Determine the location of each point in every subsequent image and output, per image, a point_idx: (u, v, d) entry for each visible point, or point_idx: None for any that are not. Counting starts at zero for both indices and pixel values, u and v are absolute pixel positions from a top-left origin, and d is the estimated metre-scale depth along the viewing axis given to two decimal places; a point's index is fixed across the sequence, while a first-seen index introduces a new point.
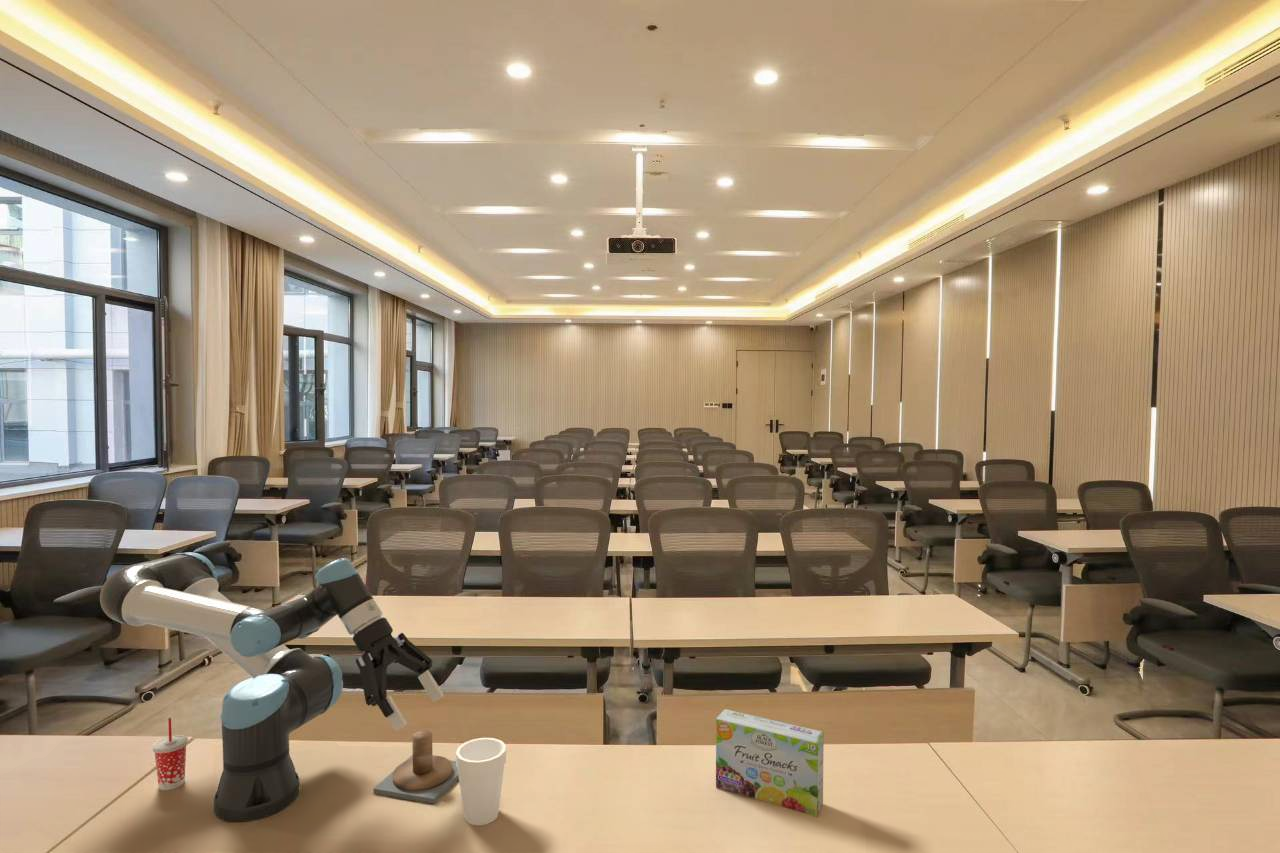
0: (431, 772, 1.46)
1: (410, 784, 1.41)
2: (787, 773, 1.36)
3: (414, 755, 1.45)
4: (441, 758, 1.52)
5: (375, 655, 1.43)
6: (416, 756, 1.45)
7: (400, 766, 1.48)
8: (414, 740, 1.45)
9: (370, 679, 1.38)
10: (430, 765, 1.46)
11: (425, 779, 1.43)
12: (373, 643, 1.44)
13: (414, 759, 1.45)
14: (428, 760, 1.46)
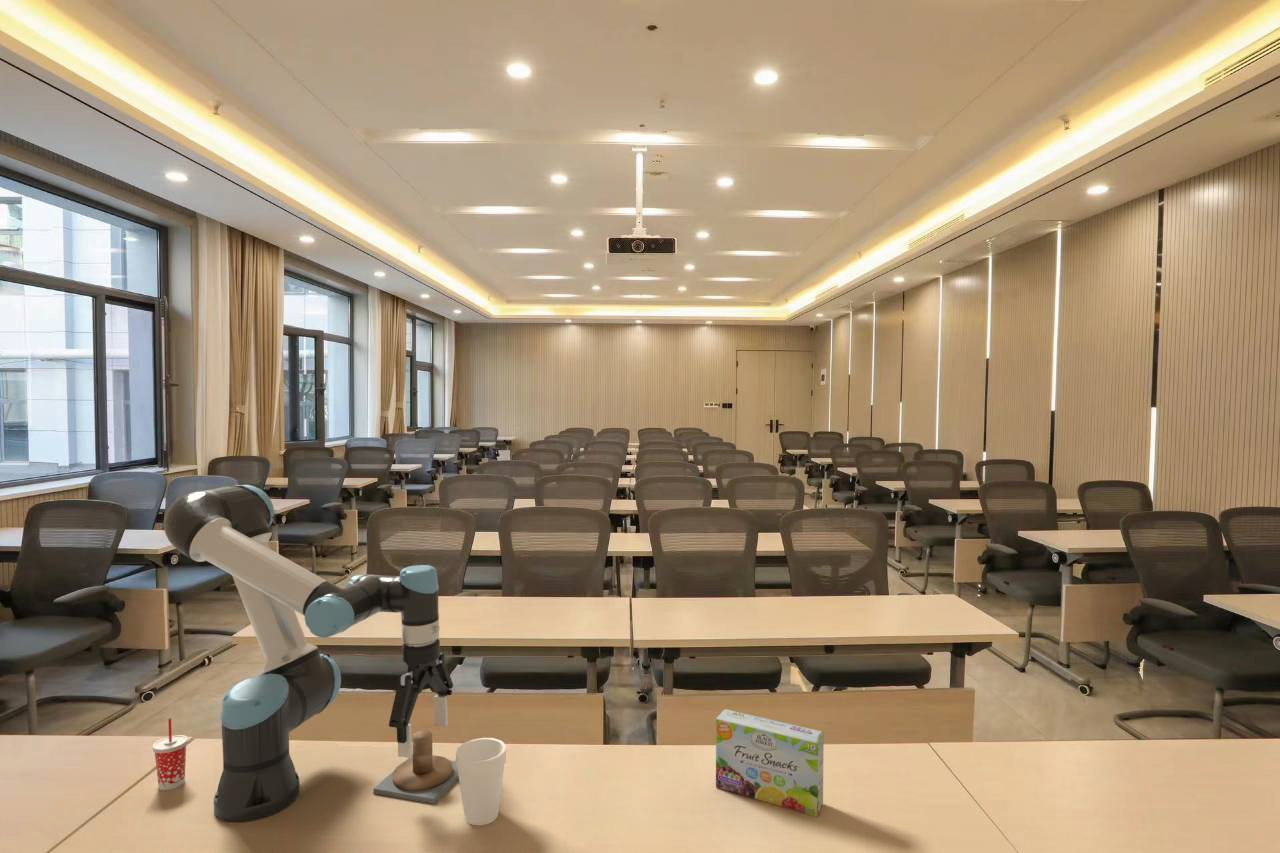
0: (431, 772, 1.46)
1: (410, 784, 1.41)
2: (787, 773, 1.36)
3: (414, 755, 1.45)
4: (441, 758, 1.52)
5: (415, 677, 1.42)
6: (416, 756, 1.45)
7: (400, 766, 1.48)
8: (414, 740, 1.45)
9: (403, 704, 1.38)
10: (430, 765, 1.46)
11: (425, 779, 1.43)
12: None
13: (414, 759, 1.45)
14: (428, 760, 1.46)
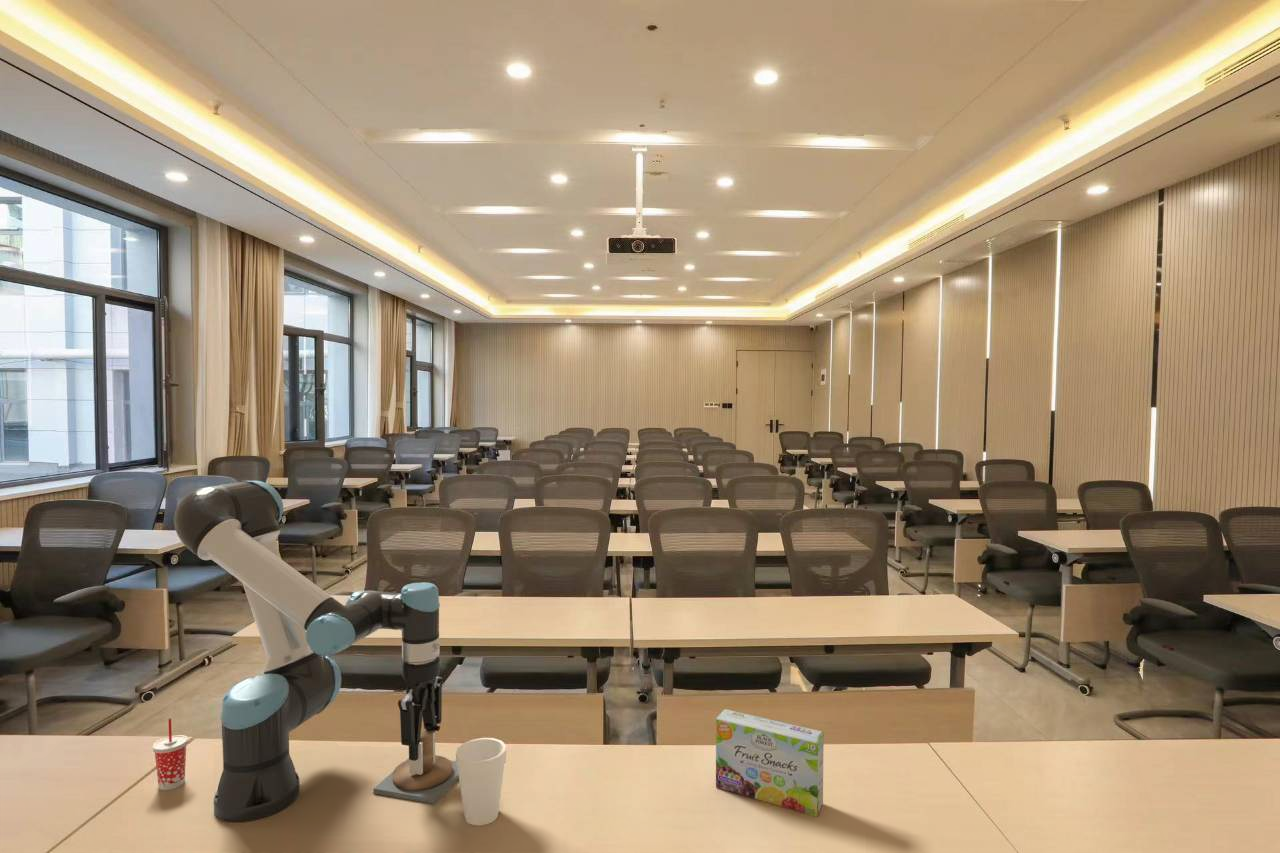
0: (431, 772, 1.46)
1: (410, 784, 1.41)
2: (787, 773, 1.36)
3: None
4: (441, 758, 1.52)
5: (415, 695, 1.42)
6: None
7: (400, 766, 1.48)
8: None
9: (410, 727, 1.41)
10: (430, 765, 1.46)
11: (425, 779, 1.43)
12: (419, 682, 1.43)
13: None
14: (428, 759, 1.46)
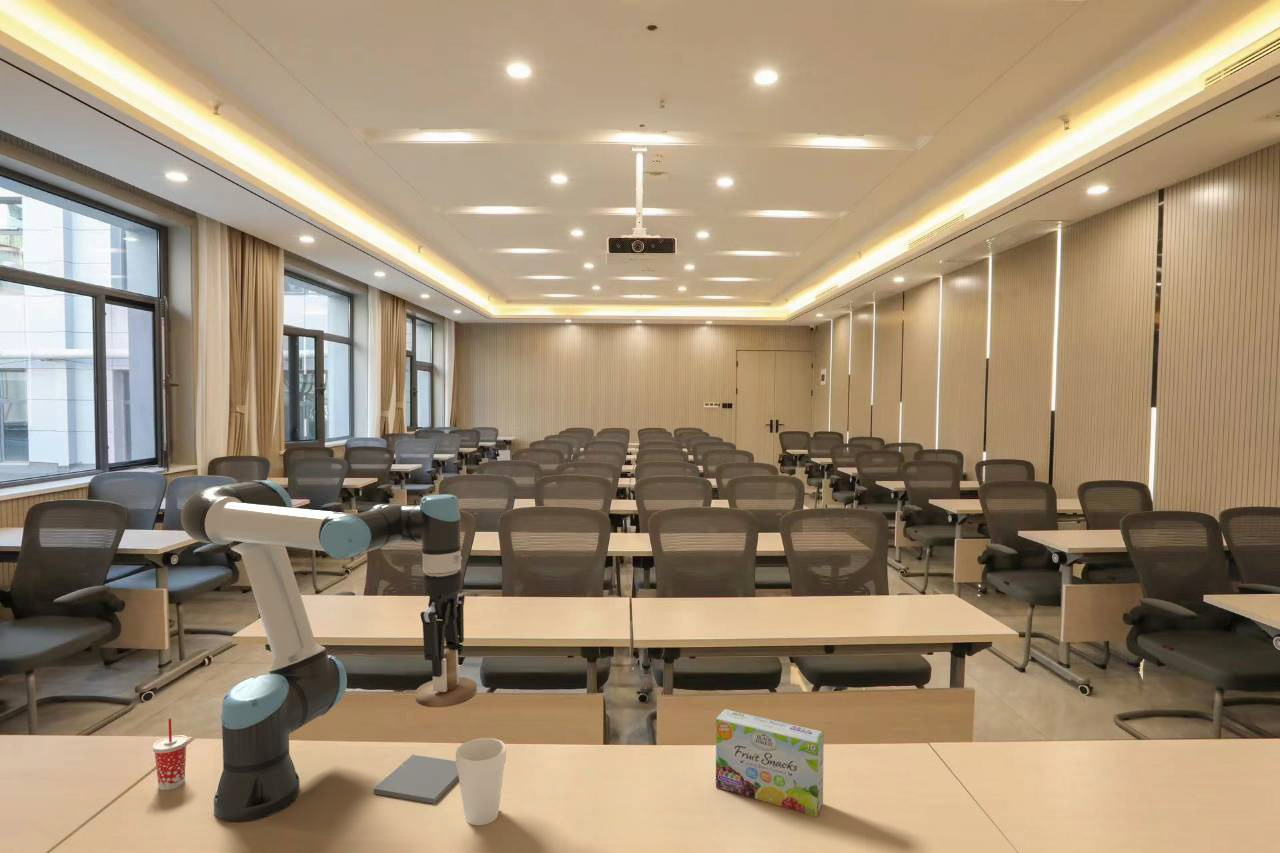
0: (455, 690, 1.40)
1: (434, 700, 1.36)
2: (787, 773, 1.36)
3: None
4: (464, 679, 1.46)
5: (438, 608, 1.37)
6: None
7: (422, 686, 1.43)
8: None
9: (433, 640, 1.35)
10: (454, 683, 1.41)
11: (450, 696, 1.38)
12: (441, 594, 1.38)
13: None
14: (452, 677, 1.40)
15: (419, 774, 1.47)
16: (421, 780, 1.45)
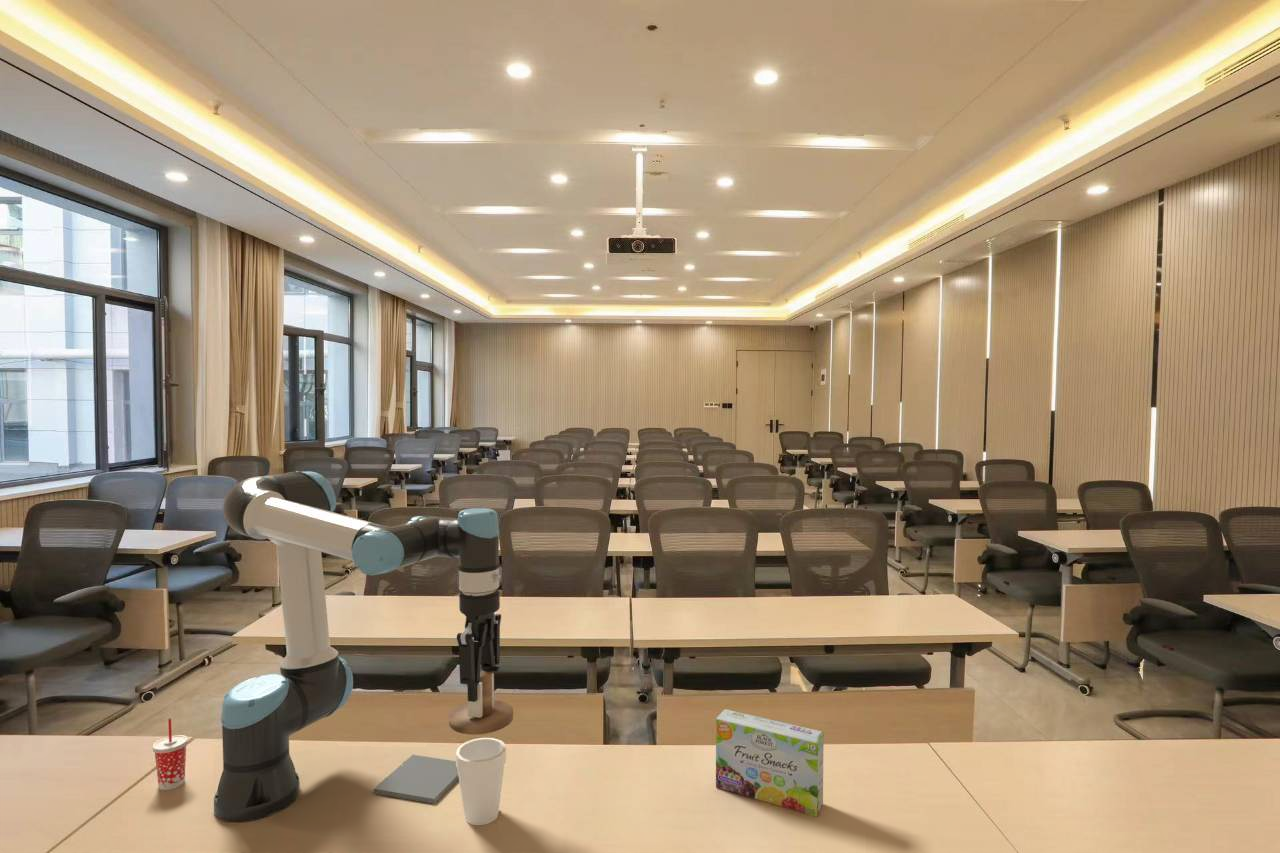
0: (491, 715, 1.33)
1: (470, 726, 1.28)
2: (787, 773, 1.36)
3: None
4: (500, 702, 1.38)
5: (475, 629, 1.29)
6: None
7: (456, 710, 1.35)
8: None
9: (470, 663, 1.27)
10: (490, 708, 1.33)
11: (486, 722, 1.30)
12: (478, 615, 1.30)
13: None
14: (488, 701, 1.32)
15: (419, 774, 1.47)
16: (421, 780, 1.45)
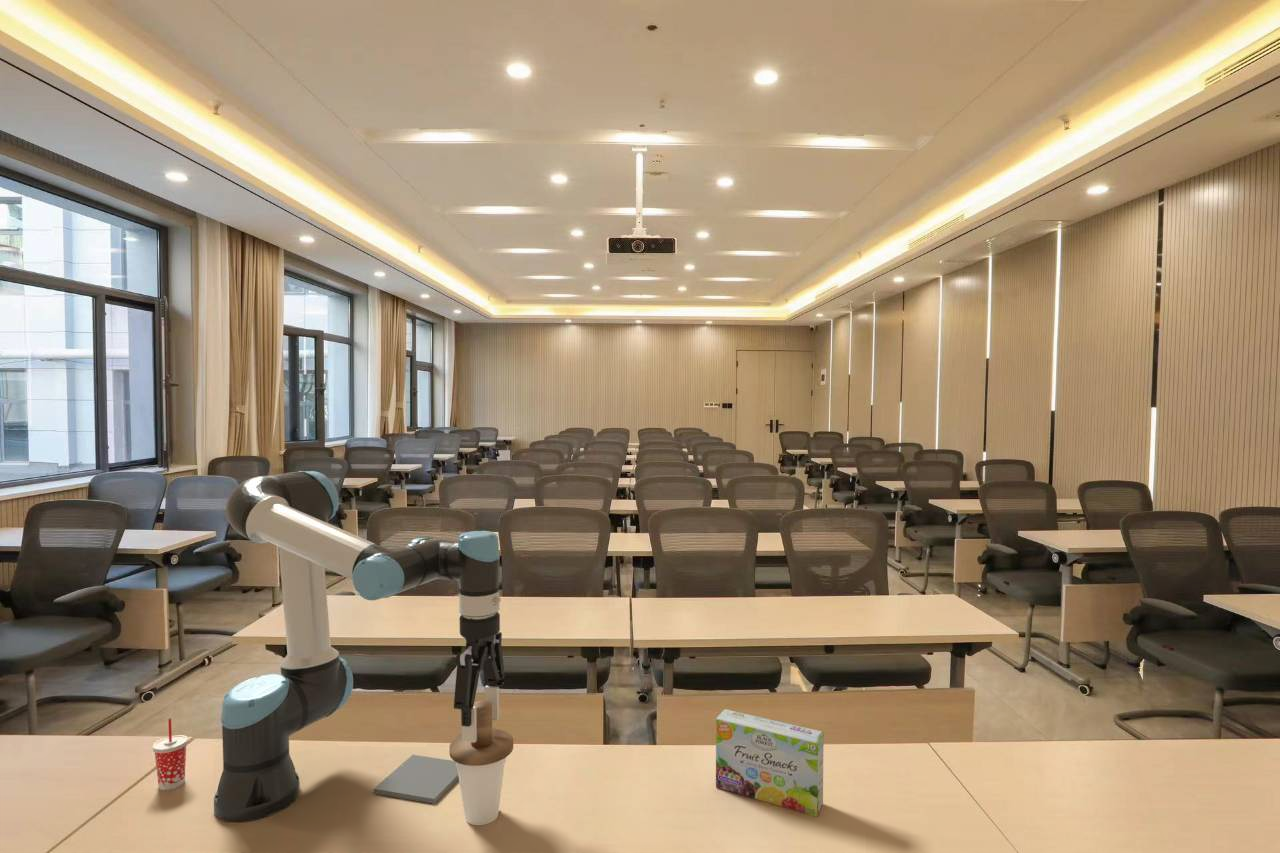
0: (492, 745, 1.33)
1: (471, 758, 1.29)
2: (787, 773, 1.36)
3: None
4: (500, 731, 1.39)
5: (475, 653, 1.29)
6: None
7: (456, 739, 1.35)
8: None
9: (466, 686, 1.26)
10: (490, 738, 1.33)
11: (487, 753, 1.30)
12: (478, 638, 1.30)
13: None
14: (488, 732, 1.33)
15: (419, 774, 1.47)
16: (421, 780, 1.45)
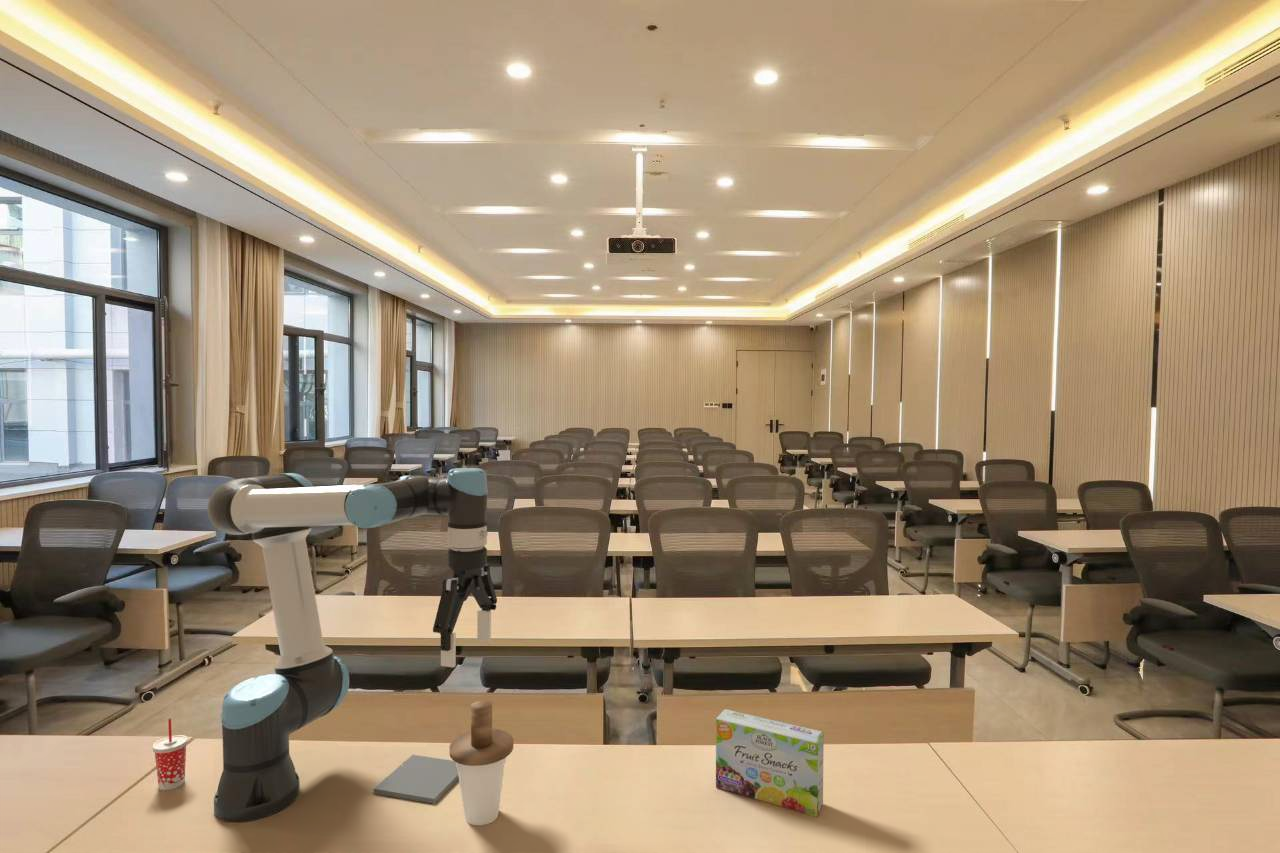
0: (492, 745, 1.33)
1: (471, 758, 1.29)
2: (787, 773, 1.36)
3: (473, 727, 1.32)
4: (499, 731, 1.39)
5: (461, 584, 1.33)
6: (476, 728, 1.32)
7: (456, 739, 1.35)
8: (473, 710, 1.32)
9: (448, 609, 1.29)
10: (490, 738, 1.33)
11: (487, 753, 1.30)
12: (465, 570, 1.34)
13: (473, 731, 1.32)
14: (488, 732, 1.33)
15: (419, 774, 1.47)
16: (421, 780, 1.45)
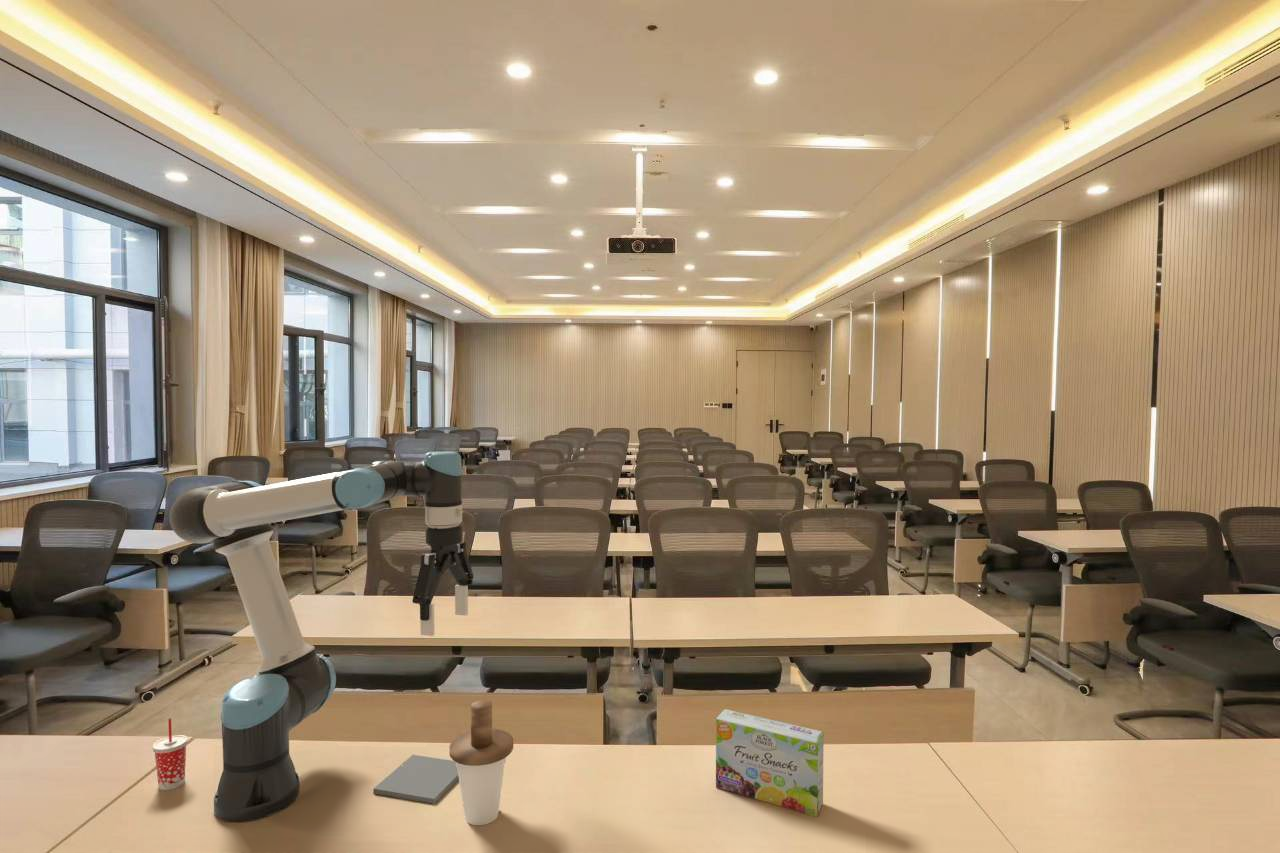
0: (492, 745, 1.33)
1: (471, 758, 1.29)
2: (787, 773, 1.36)
3: (473, 727, 1.32)
4: (499, 731, 1.39)
5: (439, 558, 1.43)
6: (476, 728, 1.32)
7: (456, 739, 1.35)
8: (473, 710, 1.32)
9: (426, 582, 1.39)
10: (490, 738, 1.33)
11: (487, 753, 1.30)
12: (442, 546, 1.44)
13: (473, 731, 1.32)
14: (488, 732, 1.33)
15: (419, 774, 1.47)
16: (421, 780, 1.45)
